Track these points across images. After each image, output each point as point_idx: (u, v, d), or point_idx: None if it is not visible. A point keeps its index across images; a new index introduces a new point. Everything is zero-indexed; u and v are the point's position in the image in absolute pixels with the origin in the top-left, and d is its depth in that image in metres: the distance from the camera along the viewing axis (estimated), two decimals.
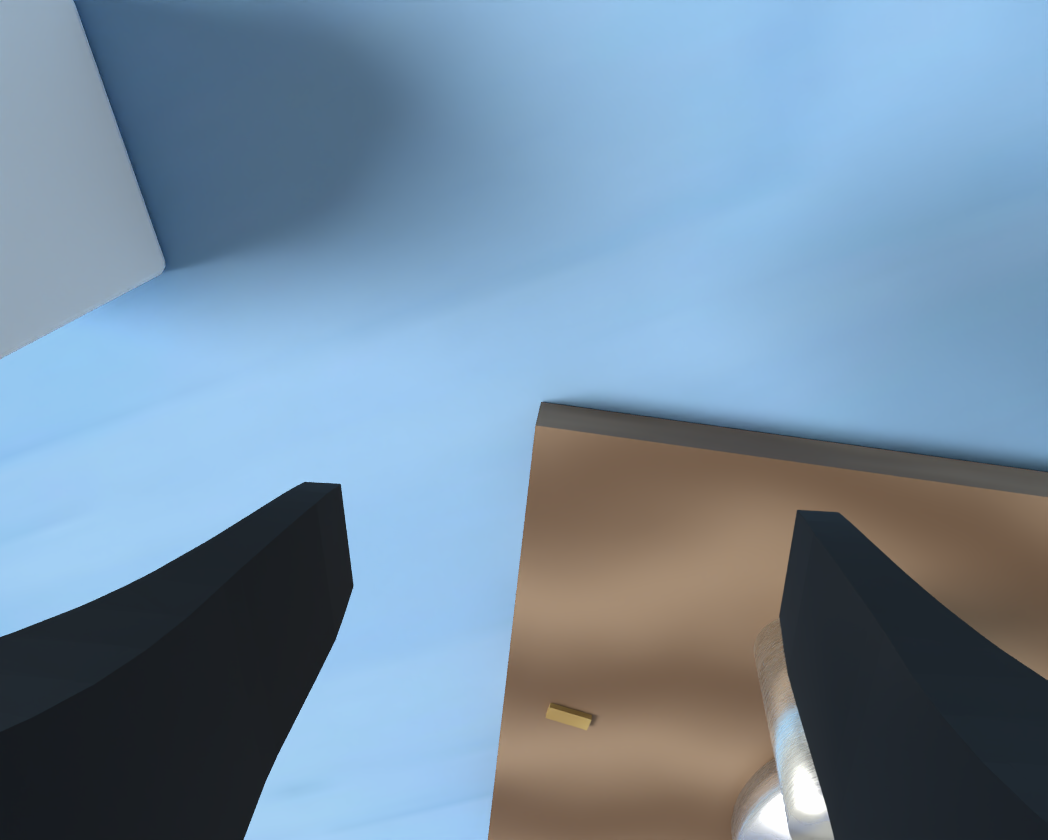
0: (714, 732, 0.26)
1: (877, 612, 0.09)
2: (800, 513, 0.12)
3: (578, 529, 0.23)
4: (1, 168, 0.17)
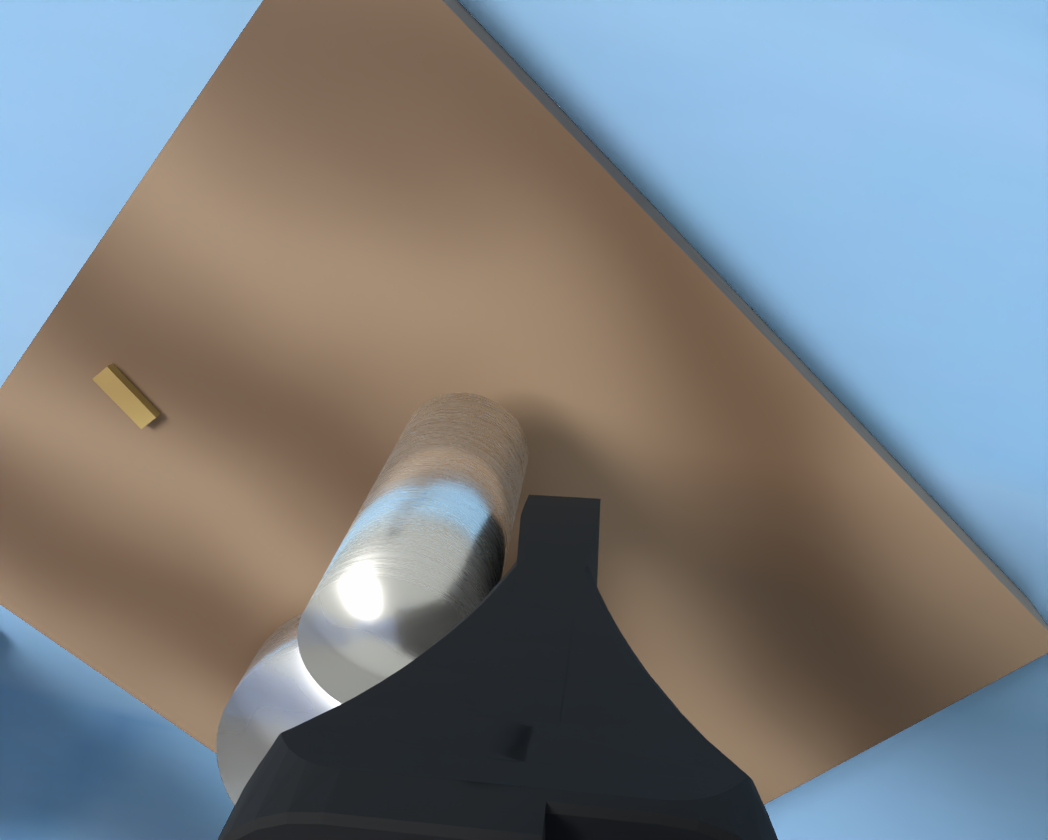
0: (308, 524, 0.18)
1: (520, 587, 0.09)
2: (528, 497, 0.12)
3: (300, 115, 0.14)
4: None
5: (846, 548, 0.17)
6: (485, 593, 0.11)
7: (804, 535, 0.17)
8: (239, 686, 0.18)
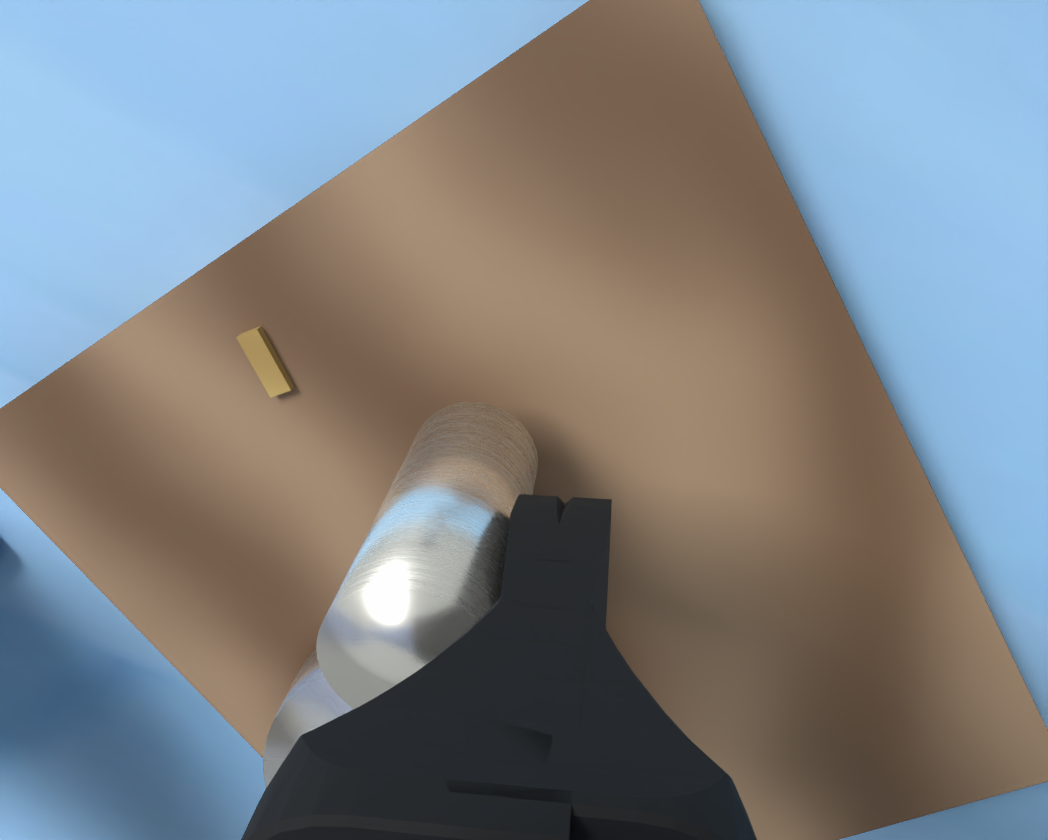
0: None
1: (507, 586, 0.09)
2: (518, 497, 0.12)
3: (552, 142, 0.14)
4: None
5: (916, 655, 0.18)
6: (497, 596, 0.11)
7: (883, 636, 0.18)
8: (279, 711, 0.18)
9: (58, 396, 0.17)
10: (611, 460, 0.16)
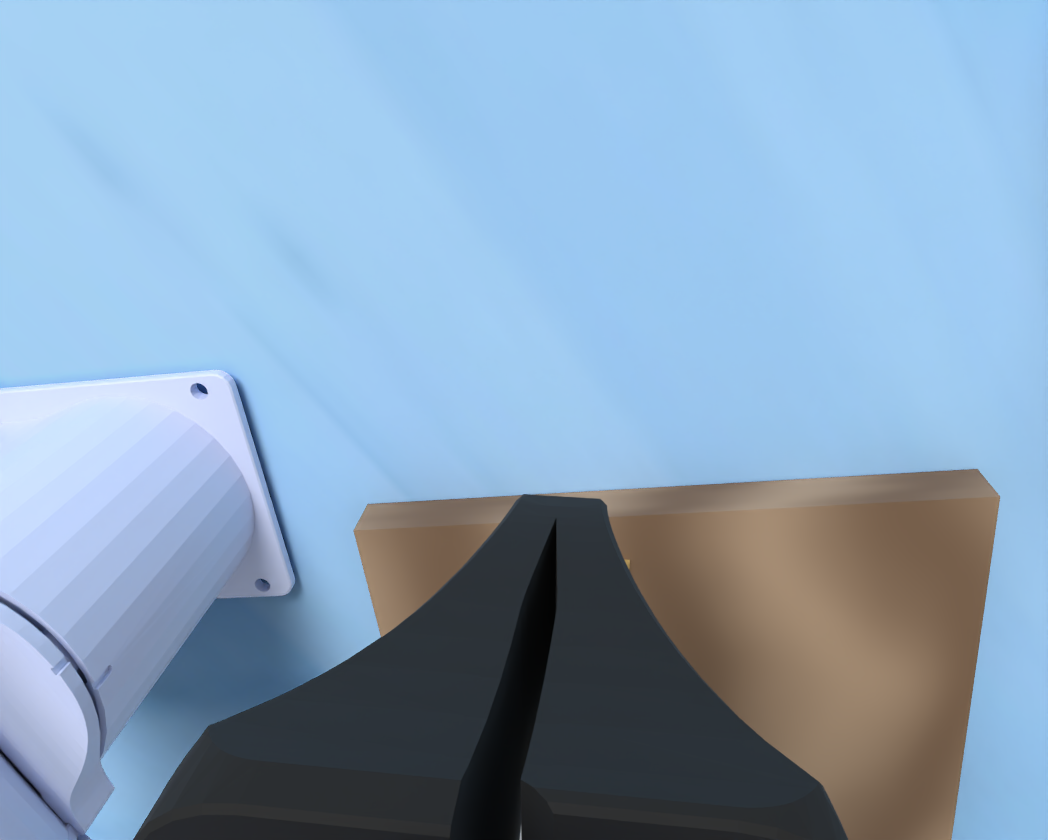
0: None
1: (563, 590, 0.09)
2: (561, 499, 0.12)
3: (874, 550, 0.22)
4: None
5: None
6: None
7: None
8: None
9: (456, 538, 0.24)
10: (791, 710, 0.25)
